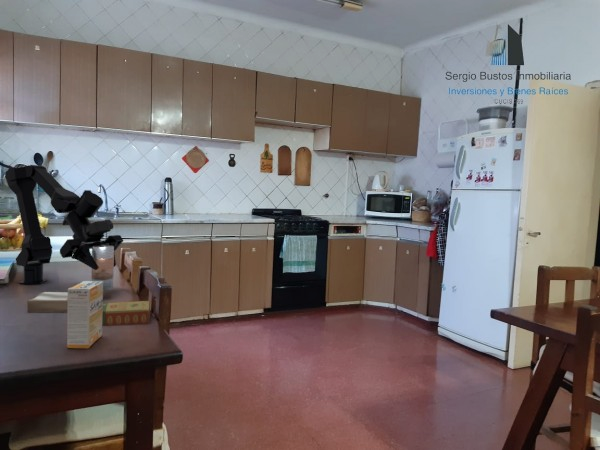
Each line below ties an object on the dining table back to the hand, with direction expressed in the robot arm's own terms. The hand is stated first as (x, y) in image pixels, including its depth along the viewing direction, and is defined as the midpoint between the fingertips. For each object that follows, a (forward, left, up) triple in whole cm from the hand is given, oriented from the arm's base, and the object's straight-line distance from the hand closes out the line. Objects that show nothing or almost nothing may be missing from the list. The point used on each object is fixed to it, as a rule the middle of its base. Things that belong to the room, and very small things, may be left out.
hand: (105, 267), depth 134 cm
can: (-1, -1, -7) cm, 7 cm away
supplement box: (+37, +5, -10) cm, 39 cm away
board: (+9, -11, -10) cm, 17 cm away
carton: (+21, +8, -10) cm, 25 cm away
